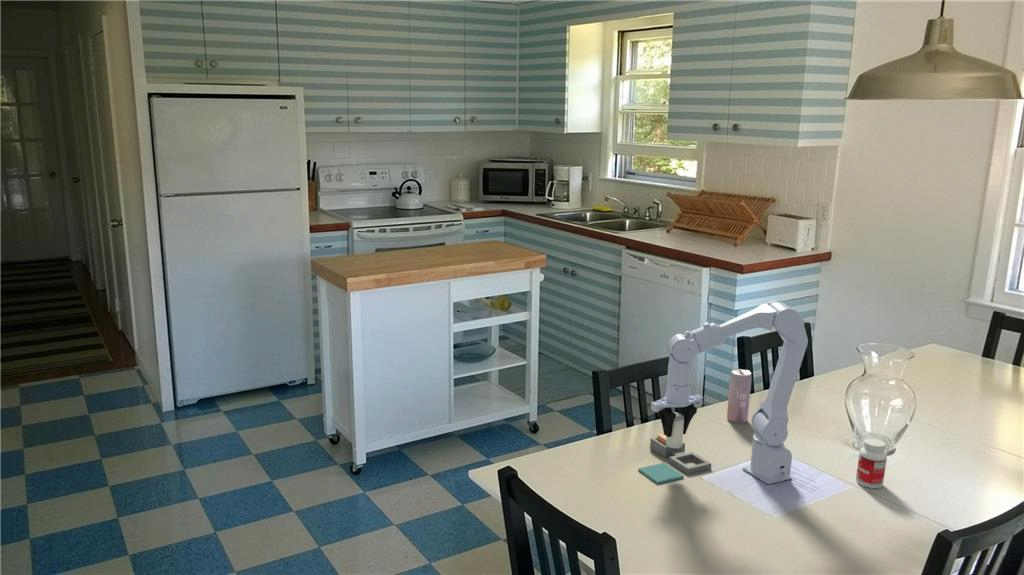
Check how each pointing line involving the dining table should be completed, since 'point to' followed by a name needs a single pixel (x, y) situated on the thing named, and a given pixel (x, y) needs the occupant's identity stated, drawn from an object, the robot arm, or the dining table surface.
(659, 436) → the orange cube
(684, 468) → the housing
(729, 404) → the beverage can
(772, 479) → the robot arm
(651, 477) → the mat
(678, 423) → the cylinder
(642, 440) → the dining table surface
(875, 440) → the pill bottle
